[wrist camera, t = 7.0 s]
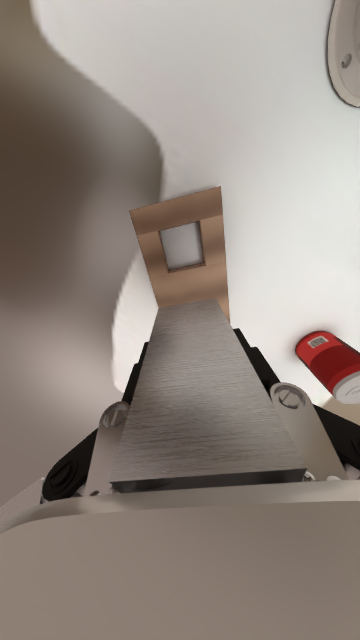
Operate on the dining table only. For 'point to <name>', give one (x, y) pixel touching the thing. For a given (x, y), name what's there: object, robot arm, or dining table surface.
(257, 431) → the metal block
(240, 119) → the dining table surface
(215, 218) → the socket board
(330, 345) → the canned food
